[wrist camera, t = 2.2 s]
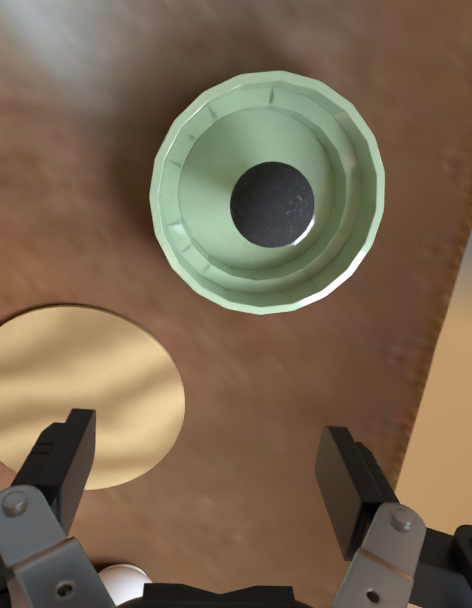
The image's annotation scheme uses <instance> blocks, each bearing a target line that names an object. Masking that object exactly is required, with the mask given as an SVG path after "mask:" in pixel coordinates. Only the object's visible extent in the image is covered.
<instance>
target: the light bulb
mask: <svg viewBox="0 0 472 608" xmlns="http://www.w3.org/2000/svg"><path fill="white" fill-rule="evenodd" d="M230 213H231V217H232V220H233V223H234V225H235V227H236V228H237V230H238V231H239V233H240V234H241V235H242V236H243V237H244V238H245V239H246V240H248V241H249V242H251V243H253V244H255V245H257V246H261V247H265V248H276V247H282V246H286V245H288V244H290V243H292V242H294V241H295V240H296V239H298V238H299V237H300V236H301V235H302V234H303V233H304V232H305V231H306V229H307V228H308V226H309V224H310V223H311V220H312V217H313V214H314V194H313V191H312V188H311V186H310V184H309V182H308V180H307V179H306V177H305V176H304V175H303V174H302V173H301V172H300V171H299V170H297V169H296V168H294V167H293V166H291V165H289V164H286V163H282V162H276V161H271V162H263V163H260V164H257V165H255V166H253V167H251V168H250V169H248V170H247V171H246V172H245V173H244V174H243V175H241V176H240V178H239V179H238V181H237V183H236V184H235V186H234V188H233V191H232V194H231V198H230Z"/></svg>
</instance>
